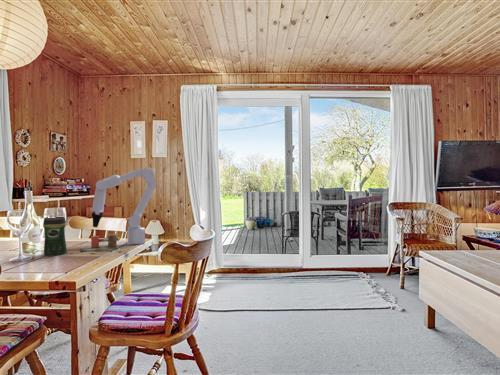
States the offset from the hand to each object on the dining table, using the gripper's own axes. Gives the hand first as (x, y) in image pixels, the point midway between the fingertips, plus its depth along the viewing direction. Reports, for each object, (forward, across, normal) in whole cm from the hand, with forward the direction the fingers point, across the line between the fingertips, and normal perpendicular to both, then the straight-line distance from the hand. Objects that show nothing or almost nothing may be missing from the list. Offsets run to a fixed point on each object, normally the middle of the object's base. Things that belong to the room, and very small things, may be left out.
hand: (95, 226), depth 187 cm
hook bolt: (+9, +10, +7) cm, 15 cm away
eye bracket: (+10, +10, +4) cm, 15 cm away
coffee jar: (+13, +16, -16) cm, 26 cm away
